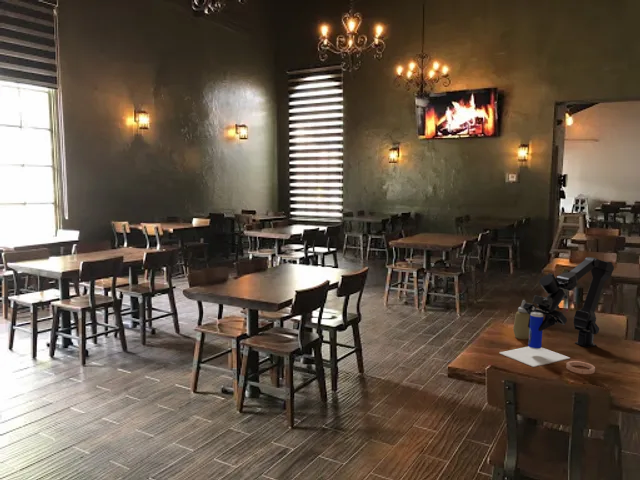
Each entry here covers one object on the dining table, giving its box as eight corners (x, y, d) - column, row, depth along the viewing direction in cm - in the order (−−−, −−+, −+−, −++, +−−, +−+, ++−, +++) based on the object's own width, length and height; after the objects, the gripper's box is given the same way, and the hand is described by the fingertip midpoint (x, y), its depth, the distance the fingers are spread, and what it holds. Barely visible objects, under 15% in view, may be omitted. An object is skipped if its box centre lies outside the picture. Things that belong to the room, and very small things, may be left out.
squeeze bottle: (530, 336, 252) (532, 299, 249) (531, 341, 244) (533, 303, 242) (512, 334, 254) (514, 297, 252) (512, 339, 247) (514, 301, 244)
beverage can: (529, 345, 228) (531, 311, 226) (541, 347, 225) (544, 312, 223) (527, 348, 223) (529, 313, 221) (540, 350, 221) (543, 315, 219)
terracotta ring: (577, 363, 216) (577, 359, 216) (600, 371, 208) (600, 367, 207) (560, 367, 212) (561, 363, 212) (583, 375, 203) (583, 371, 203)
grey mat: (535, 345, 238) (535, 345, 238) (570, 358, 222) (570, 357, 222) (499, 353, 228) (499, 352, 227) (533, 367, 212) (533, 366, 212)
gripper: (526, 284, 231) (507, 312, 227) (563, 293, 214) (543, 323, 211) (538, 299, 236) (519, 327, 232) (575, 309, 219) (555, 339, 216)
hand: (533, 328), depth 222 cm, fingers closed on beverage can, 5 cm apart
